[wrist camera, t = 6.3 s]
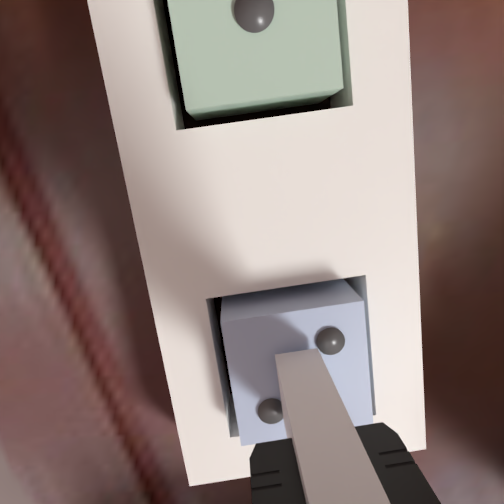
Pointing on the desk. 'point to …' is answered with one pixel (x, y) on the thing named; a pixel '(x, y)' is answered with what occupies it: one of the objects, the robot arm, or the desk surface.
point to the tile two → (293, 350)
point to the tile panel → (270, 214)
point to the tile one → (255, 54)
